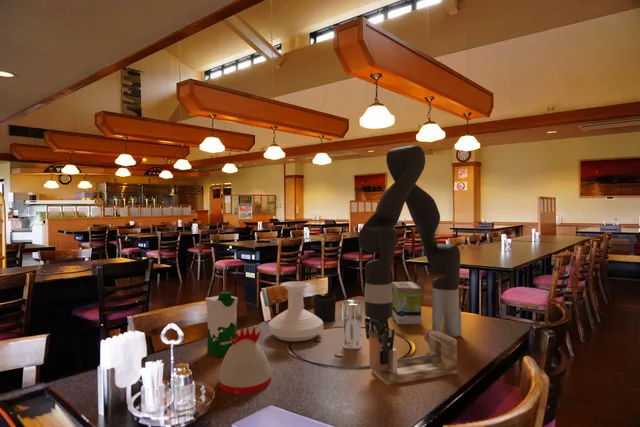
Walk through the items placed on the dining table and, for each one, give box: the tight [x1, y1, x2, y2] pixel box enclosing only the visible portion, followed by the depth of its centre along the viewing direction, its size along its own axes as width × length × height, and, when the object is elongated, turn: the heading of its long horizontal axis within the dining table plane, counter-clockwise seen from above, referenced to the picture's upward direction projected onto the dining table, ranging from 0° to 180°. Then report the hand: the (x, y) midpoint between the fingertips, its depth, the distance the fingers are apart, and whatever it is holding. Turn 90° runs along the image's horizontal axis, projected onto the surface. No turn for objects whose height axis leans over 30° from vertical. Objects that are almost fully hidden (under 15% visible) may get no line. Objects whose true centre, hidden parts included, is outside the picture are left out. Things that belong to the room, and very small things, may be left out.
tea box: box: [391, 281, 422, 325], centre depth 170 cm, size 15×10×15 cm, turn 179°
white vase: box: [268, 280, 324, 342], centre depth 149 cm, size 20×20×19 cm
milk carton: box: [204, 290, 239, 359], centre depth 132 cm, size 9×9×20 cm
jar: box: [368, 330, 389, 371], centre depth 112 cm, size 5×5×10 cm
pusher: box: [386, 347, 441, 374], centre depth 115 cm, size 19×6×7 cm, turn 108°
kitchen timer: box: [218, 326, 272, 395], centre depth 110 cm, size 14×14×15 cm
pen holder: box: [312, 294, 337, 324], centre depth 170 cm, size 9×9×10 cm
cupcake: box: [423, 316, 451, 346], centre depth 131 cm, size 9×8×12 cm
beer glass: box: [341, 299, 363, 350], centre depth 137 cm, size 7×7×15 cm
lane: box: [371, 331, 458, 386], centre depth 115 cm, size 22×9×10 cm, turn 108°
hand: (379, 360), depth 112 cm, fingers closed on jar, 5 cm apart
